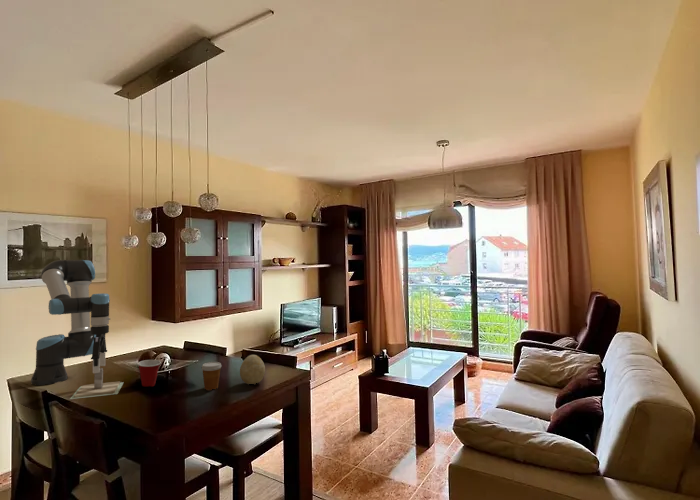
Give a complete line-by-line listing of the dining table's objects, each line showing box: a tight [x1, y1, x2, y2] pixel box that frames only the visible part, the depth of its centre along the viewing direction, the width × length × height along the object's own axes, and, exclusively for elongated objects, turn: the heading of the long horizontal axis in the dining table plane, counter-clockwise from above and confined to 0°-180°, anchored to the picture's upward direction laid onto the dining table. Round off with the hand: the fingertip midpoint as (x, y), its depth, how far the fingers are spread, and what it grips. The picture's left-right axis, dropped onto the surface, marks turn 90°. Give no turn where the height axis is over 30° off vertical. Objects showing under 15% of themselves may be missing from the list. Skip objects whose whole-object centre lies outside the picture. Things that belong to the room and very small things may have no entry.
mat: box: [69, 381, 124, 400], centre depth 189 cm, size 19×19×1 cm
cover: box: [74, 367, 121, 399], centre depth 189 cm, size 16×16×10 cm
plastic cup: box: [137, 359, 162, 388], centre depth 198 cm, size 11×11×12 cm
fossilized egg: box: [239, 354, 266, 385], centre depth 201 cm, size 13×13×15 cm
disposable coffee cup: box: [201, 361, 223, 391], centre depth 194 cm, size 10×10×12 cm
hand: (99, 369), depth 189 cm, fingers open, 13 cm apart
